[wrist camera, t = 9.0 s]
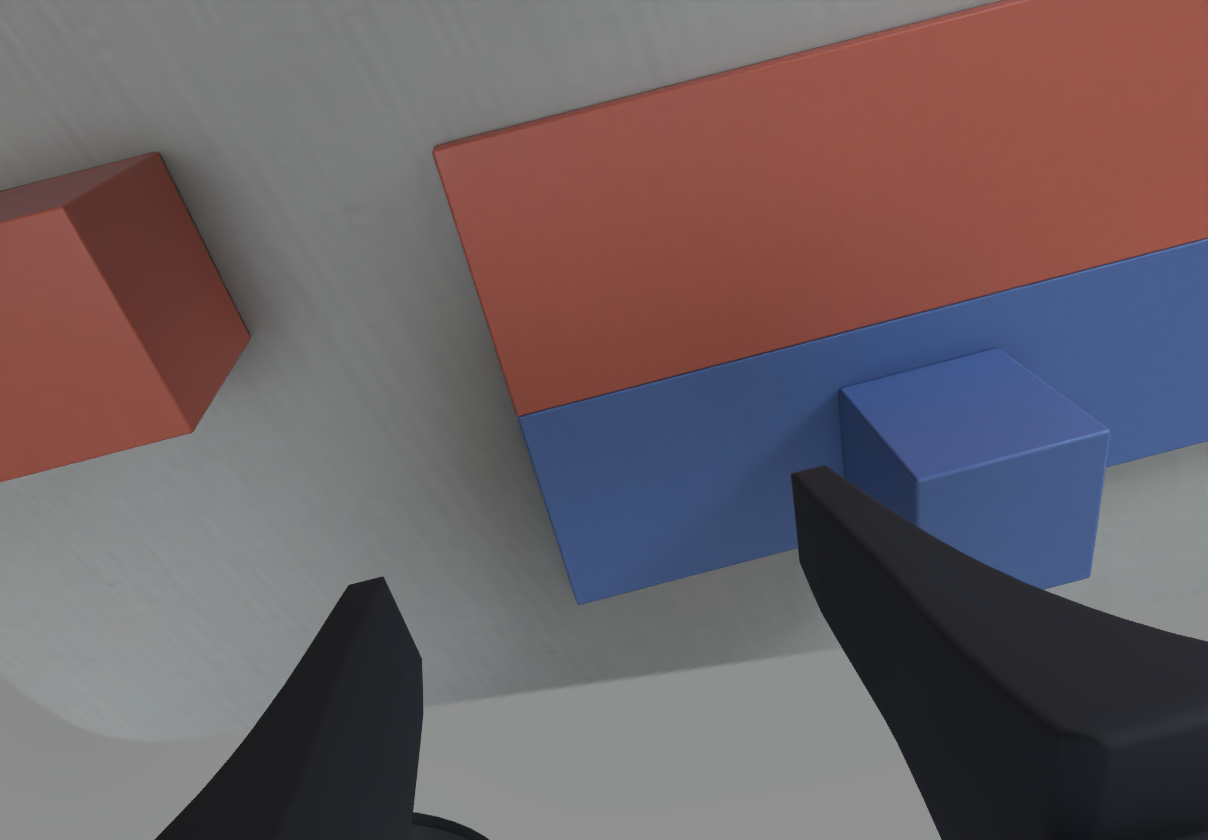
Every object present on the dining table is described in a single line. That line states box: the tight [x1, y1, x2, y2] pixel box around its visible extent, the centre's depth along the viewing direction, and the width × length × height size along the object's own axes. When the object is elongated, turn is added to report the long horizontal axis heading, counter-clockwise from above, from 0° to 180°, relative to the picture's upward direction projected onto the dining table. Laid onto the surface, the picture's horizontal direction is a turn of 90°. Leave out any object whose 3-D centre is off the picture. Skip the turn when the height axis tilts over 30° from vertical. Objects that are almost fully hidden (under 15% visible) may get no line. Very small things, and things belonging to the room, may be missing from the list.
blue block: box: [839, 348, 1110, 590], centre depth 21 cm, size 5×5×5 cm
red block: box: [0, 152, 250, 482], centre depth 16 cm, size 5×5×5 cm
